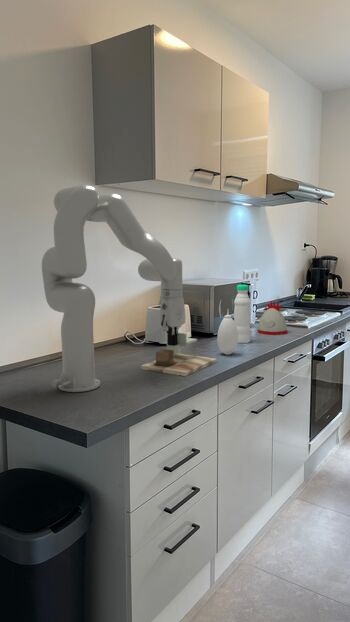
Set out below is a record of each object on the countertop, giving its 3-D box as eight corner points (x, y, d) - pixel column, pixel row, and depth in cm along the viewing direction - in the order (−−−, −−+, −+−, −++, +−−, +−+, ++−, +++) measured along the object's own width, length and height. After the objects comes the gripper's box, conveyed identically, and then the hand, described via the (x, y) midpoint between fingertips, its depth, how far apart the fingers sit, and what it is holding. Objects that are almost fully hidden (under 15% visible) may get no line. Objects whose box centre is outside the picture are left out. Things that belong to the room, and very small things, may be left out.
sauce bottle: (213, 354, 187) (213, 308, 184) (226, 351, 192) (226, 306, 190) (229, 357, 181) (229, 310, 179) (241, 354, 187) (242, 308, 184)
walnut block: (166, 369, 165) (166, 352, 164) (155, 368, 167) (155, 351, 167) (173, 367, 169) (173, 350, 168) (163, 365, 171) (162, 348, 170)
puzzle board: (185, 376, 157) (185, 372, 156) (140, 369, 166) (140, 365, 166) (216, 361, 175) (216, 358, 175) (175, 356, 185) (175, 352, 184)
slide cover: (185, 359, 172) (185, 334, 171) (167, 357, 176) (166, 332, 175) (197, 355, 179) (196, 330, 177) (178, 352, 183) (178, 328, 182)
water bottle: (237, 344, 205) (238, 285, 202) (231, 340, 212) (231, 284, 208) (252, 343, 207) (253, 285, 204) (246, 339, 214) (246, 283, 210)
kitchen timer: (281, 336, 222) (281, 304, 220) (253, 333, 229) (253, 302, 227) (290, 331, 233) (291, 300, 231) (264, 329, 241) (264, 299, 239)
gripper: (169, 296, 160) (169, 350, 163) (191, 292, 173) (192, 342, 175) (150, 295, 164) (151, 348, 167) (174, 291, 177) (175, 340, 179)
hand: (172, 345), depth 171 cm, fingers closed
